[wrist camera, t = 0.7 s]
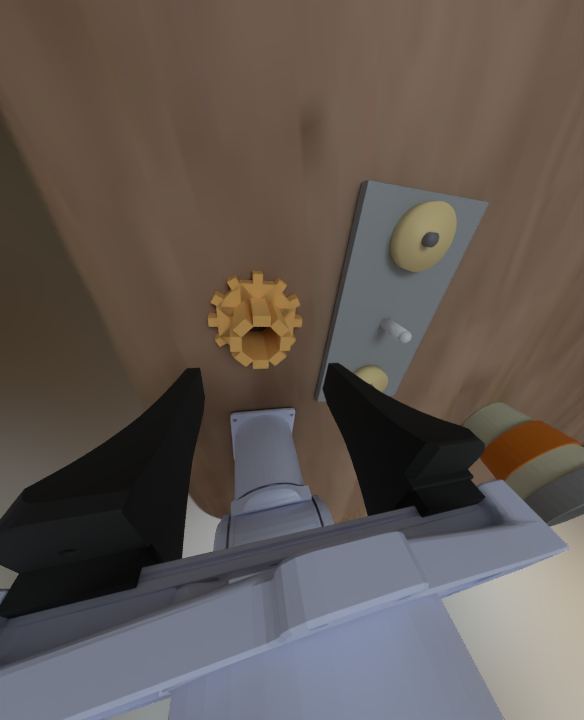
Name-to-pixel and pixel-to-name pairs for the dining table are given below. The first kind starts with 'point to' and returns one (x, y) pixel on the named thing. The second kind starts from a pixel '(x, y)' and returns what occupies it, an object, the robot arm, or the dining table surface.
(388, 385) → the gear board
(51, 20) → the dining table surface
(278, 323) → the amber gear
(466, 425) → the reusable coffee cup
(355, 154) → the dining table surface
